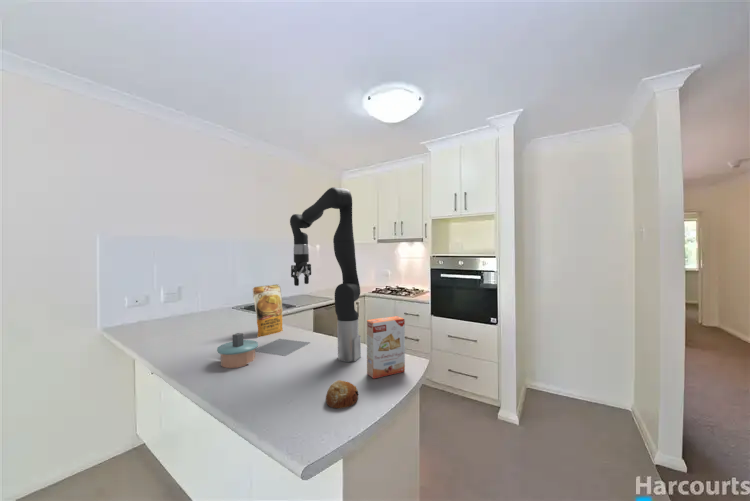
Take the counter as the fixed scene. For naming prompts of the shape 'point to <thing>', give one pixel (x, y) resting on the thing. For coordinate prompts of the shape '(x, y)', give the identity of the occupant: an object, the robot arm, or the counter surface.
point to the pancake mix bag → (268, 309)
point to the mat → (281, 347)
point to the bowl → (237, 359)
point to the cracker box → (385, 346)
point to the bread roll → (341, 394)
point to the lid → (237, 345)
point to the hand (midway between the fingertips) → (301, 284)
